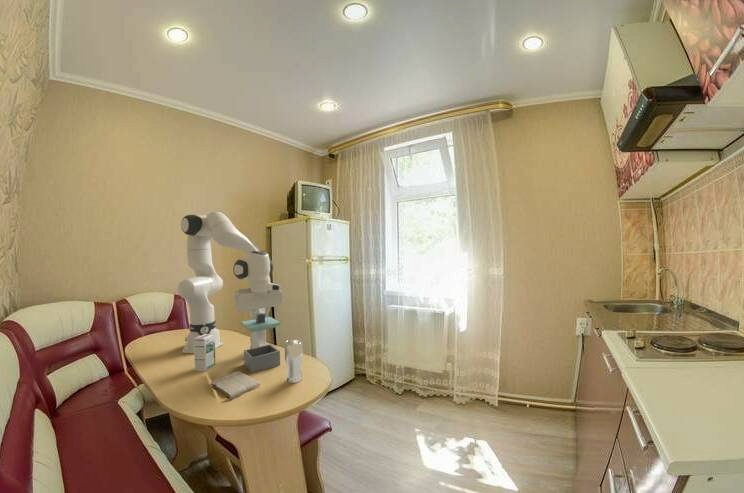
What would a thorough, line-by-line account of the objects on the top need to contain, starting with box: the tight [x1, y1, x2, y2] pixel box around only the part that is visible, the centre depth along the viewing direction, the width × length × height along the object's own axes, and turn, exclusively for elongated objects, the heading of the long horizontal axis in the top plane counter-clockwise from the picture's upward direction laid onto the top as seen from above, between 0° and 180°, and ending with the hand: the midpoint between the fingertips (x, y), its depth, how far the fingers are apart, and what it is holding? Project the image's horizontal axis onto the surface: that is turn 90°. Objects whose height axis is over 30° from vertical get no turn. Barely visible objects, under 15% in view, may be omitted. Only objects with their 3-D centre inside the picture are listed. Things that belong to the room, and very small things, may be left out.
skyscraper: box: [249, 308, 267, 349], centre depth 138 cm, size 8×8×28 cm
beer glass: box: [284, 339, 304, 384], centre depth 111 cm, size 7×7×15 cm
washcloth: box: [209, 370, 261, 400], centre depth 107 cm, size 12×18×3 cm, turn 52°
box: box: [243, 343, 281, 374], centre depth 124 cm, size 12×12×7 cm
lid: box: [240, 313, 281, 332], centre depth 125 cm, size 13×13×6 cm
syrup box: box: [193, 334, 216, 372], centre depth 124 cm, size 6×6×14 cm
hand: (260, 318), depth 125 cm, fingers closed on lid, 3 cm apart
